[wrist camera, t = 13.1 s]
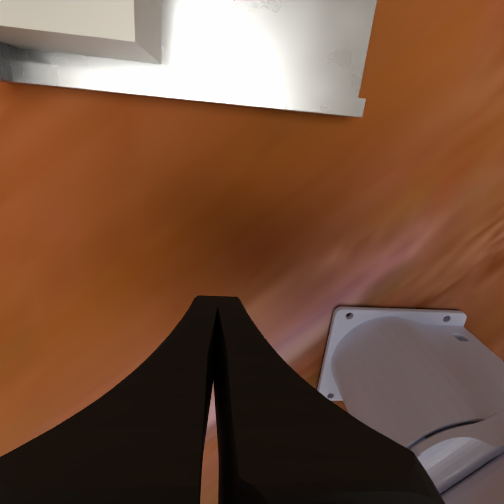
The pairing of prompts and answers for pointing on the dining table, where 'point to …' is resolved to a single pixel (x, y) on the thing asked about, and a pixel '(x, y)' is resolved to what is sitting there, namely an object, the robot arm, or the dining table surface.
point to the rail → (229, 57)
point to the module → (85, 27)
